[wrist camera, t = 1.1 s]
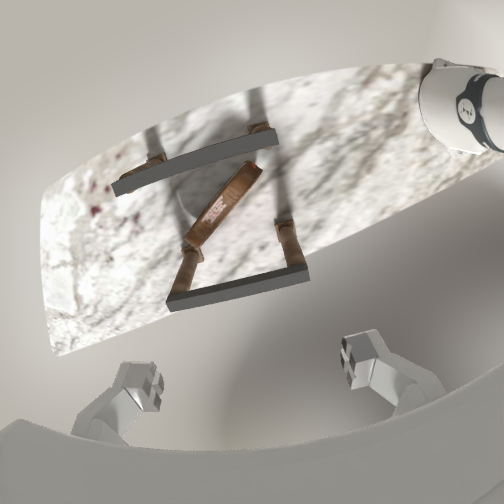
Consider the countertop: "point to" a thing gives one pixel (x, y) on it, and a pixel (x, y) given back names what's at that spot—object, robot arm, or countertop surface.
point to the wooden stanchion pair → (193, 256)
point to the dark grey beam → (239, 288)
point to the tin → (223, 204)
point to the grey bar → (196, 160)
